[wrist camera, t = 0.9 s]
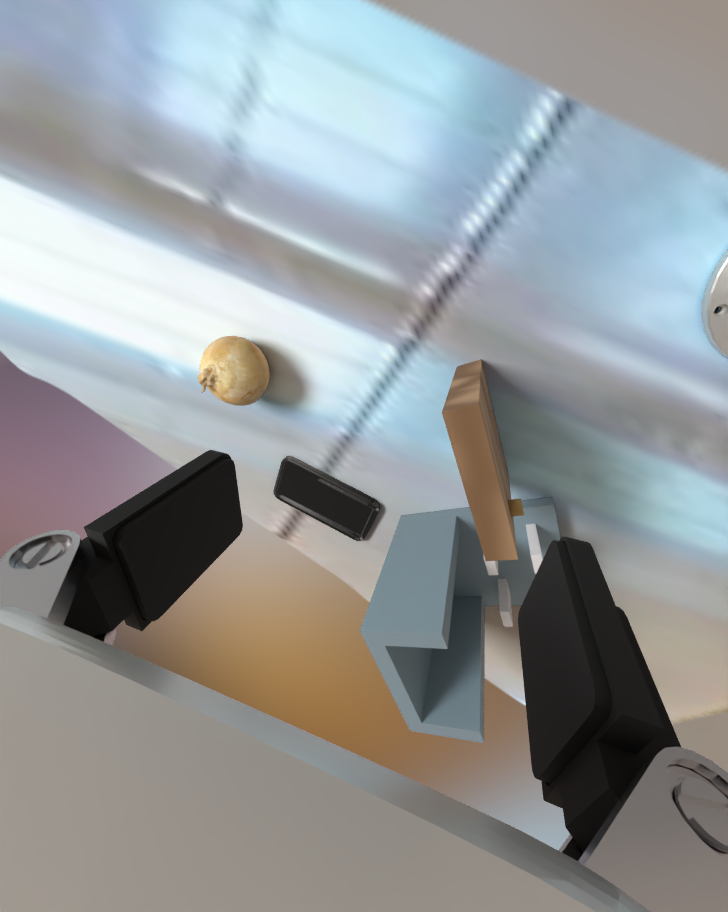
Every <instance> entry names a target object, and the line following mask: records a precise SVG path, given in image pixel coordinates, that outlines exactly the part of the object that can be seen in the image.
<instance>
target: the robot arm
mask: <svg viewBox="0 0 728 912" xmlns="http://www.w3.org/2000/svg"><path fill="white" fill-rule="evenodd" d="M717 306H718V308H719V309H718V311H717V312H715V313H714V310H715V309H716V308H717ZM702 322H703V327H704V331H705V333H706V335H707V337H708V339H709V341H710V343H711V344H712V345H713V346H714V347H715V348H716V349H717V350H718V352H719V353H720V354H722V355H723V356H725V357H727V358H728V249H727V251H726V252H725V254H724V255H723V256H722V258H721V259H720V261H719V262H718V264H717V265H716V267H715V269H714V271H713V273H712V275H711V277H710V279H709V281H708V283H707V286H706V290H705V293H704V297H703V301H702ZM242 527H243V523H242V516H241V508H240V501H239V493H238V486H237V479H236V471H235V464H234V462H233V460H231V457H230V456H229V455H228V454H225V453H221V452H217V451H213V450H209V451H207V452H205V453H204V454H202V455H200V456H199V457H197V458H195V459H194V460H192V461H191V462H189V463H187V464H186V465H184V466H182V467H181V468H179V469H178V470H176V471H174V472H173V473H171V474H169V475H168V476H166V477H165V478H163V479H161V480H160V481H158V482H157V483H155V484H153V485H152V486H150V487H148V488H147V489H145V490H144V491H142V492H140V493H139V494H137V495H135V496H134V497H132V498H131V499H129V500H127V501H126V502H124V503H122V504H121V505H119V506H118V507H116V508H114V509H113V510H111V511H110V512H108V513H106V514H105V515H103V516H101V517H100V518H98V519H97V520H95V521H93V522H92V523H90V524H89V525H87V526H85V527H84V529H85V531H86V533H87V536H88V537H86V538H85V539H83V540H82V541H81V539H80V537H79V535H78V534H77V533H75V532H73V531H68V530H57V531H50V532H46V533H42V534H39V535H36V536H33V537H31V538H28V539H27V540H25V541H23V542H21V543H19V544H17V545H16V546H14V547H13V548H12V549H10V550H9V551H8V552H7V553H6V554H5V555H4V556H3V557H2V558H1V560H0V912H728V773H727V772H726V771H724V770H723V769H722V768H720V767H719V766H718V765H716V764H715V763H714V762H712V761H711V760H709V759H707V758H705V757H704V756H702V755H700V754H698V753H696V752H694V751H691V750H688V749H684V748H681V746H680V743H679V741H678V738H677V736H676V734H675V731H674V729H673V726H672V724H671V722H670V719H669V717H668V714H667V712H666V710H665V707H664V705H663V702H662V700H661V698H660V695H659V693H658V690H657V688H656V686H655V683H654V681H653V678H652V676H651V674H650V671H649V669H648V666H647V664H646V662H645V659H644V657H643V654H642V652H641V650H640V647H639V645H638V643H637V640H636V638H635V635H634V633H633V631H632V628H631V626H630V623H629V621H628V619H627V617H626V615H625V613H624V611H623V610H622V609H620V608H619V607H616V606H615V603H614V601H613V598H612V596H611V593H610V591H609V588H608V586H607V583H606V581H605V578H604V576H603V573H602V570H601V568H600V565H599V563H598V560H597V558H596V555H595V553H594V550H593V548H592V546H591V544H590V543H588V542H584V541H580V540H576V539H572V538H568V537H562V538H561V539H560V540H559V541H556V540H553V541H552V542H551V543H550V545H549V547H548V549H547V552H546V554H545V556H544V558H543V560H542V562H541V565H540V567H539V569H538V571H537V573H536V575H535V578H534V580H533V582H532V584H531V586H530V588H529V590H528V593H527V595H526V597H525V599H524V601H523V603H522V606H521V608H520V611H519V616H518V625H519V636H520V647H521V657H522V668H523V679H524V689H525V700H526V710H527V720H528V732H529V742H530V753H531V763H532V771H533V774H534V776H535V778H536V779H539V780H541V781H542V790H543V799H544V801H546V802H549V803H551V804H554V805H556V806H558V807H561V808H563V812H564V819H565V826H566V828H567V830H568V831H569V833H570V835H569V837H568V838H567V839H566V841H565V842H564V843H563V845H562V846H561V848H560V849H559V850H556V849H554V848H552V847H550V846H548V845H546V844H545V843H543V842H541V841H539V840H537V839H535V838H533V837H531V836H529V835H528V834H526V833H524V832H522V831H520V830H518V829H515V828H514V827H512V826H510V825H508V824H505V823H503V822H501V821H499V820H497V819H495V818H493V817H490V816H489V815H486V814H484V813H482V812H480V811H478V810H476V809H474V808H472V807H470V806H467V805H465V804H463V803H461V802H458V801H457V800H455V799H453V798H451V797H448V796H446V795H444V794H442V793H440V792H438V791H436V790H434V789H431V788H429V787H427V786H425V785H423V784H421V783H418V782H416V781H414V780H412V779H410V778H407V777H405V776H403V775H400V774H399V773H396V772H394V771H392V770H390V769H387V768H385V767H383V766H381V765H379V764H376V763H374V762H372V761H370V760H368V759H365V758H363V757H361V756H359V755H357V754H354V753H352V752H350V751H348V750H345V749H343V748H341V747H339V746H337V745H334V744H332V743H330V742H328V741H326V740H323V739H321V738H319V737H317V736H314V735H312V734H310V733H308V732H305V731H303V730H301V729H299V728H297V727H294V726H292V725H290V724H288V723H285V722H283V721H281V720H279V719H277V718H274V717H272V716H270V715H268V714H265V713H263V712H261V711H259V710H256V709H254V708H252V707H250V706H247V705H245V704H243V703H241V702H238V701H236V700H234V699H232V698H229V697H227V696H225V695H223V694H220V693H218V692H216V691H214V690H211V689H209V688H207V687H205V686H202V685H200V684H198V683H196V682H193V681H191V680H189V679H187V678H184V677H182V676H180V675H178V674H175V673H173V672H171V671H169V670H166V669H164V668H162V667H160V666H157V665H155V664H153V663H150V662H148V661H146V660H143V659H141V658H139V657H137V656H134V655H132V654H130V653H128V652H125V651H123V650H121V649H118V648H116V647H114V646H113V643H114V639H115V635H116V630H117V626H118V625H119V624H120V623H121V622H122V621H123V620H125V623H126V625H128V626H131V627H133V628H136V629H138V630H140V631H143V630H144V629H145V628H146V626H148V625H149V624H150V623H151V621H155V620H157V619H159V618H160V617H161V616H162V615H163V614H164V613H165V612H166V611H167V610H168V609H169V608H170V606H171V605H173V604H174V602H175V601H176V600H177V599H178V598H179V597H180V596H181V595H182V594H183V593H184V592H185V591H186V590H187V589H188V588H189V587H190V586H191V585H192V584H193V583H194V582H195V581H196V580H197V578H199V577H200V575H201V574H202V573H203V572H204V571H205V570H206V569H207V568H208V567H209V566H210V565H211V564H212V563H213V562H214V561H215V560H216V559H217V558H218V557H219V556H220V555H221V554H222V553H223V552H224V551H225V550H226V549H227V548H228V546H229V545H230V544H231V543H232V542H233V541H234V540H235V539H236V538H237V537H238V536H239V535H240V533H241V531H242Z"/></svg>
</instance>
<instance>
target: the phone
mask: <svg viewBox="0 0 728 912" xmlns="http://www.w3.org/2000/svg"><path fill="white" fill-rule="evenodd" d="M274 495H275V497H276V498H277V499H279V500H281V501H283V502H285V503H286V504H288V505H290V506H292V507H294V508H296V509H298V510H300V511H301V512H303V513H305V514H307V515H309V516H311V517H313V518H315V519H316V520H318V521H320V522H322V523H324V524H326V525H328V526H329V527H331V528H333V529H335V530H337V531H339V532H341V533H343V534H344V535H346V536H348V537H350V538H352V539H354V540H356V541H362V540H364V538H365V536H366V535H367V533H368V531H369V529H370V527H371V525H372V523H373V522H374V520H375V518H376V516H377V514H378V512H379V510H380V504H379V502H378V501H377V500H375V499H373V498H371V497H370V496H368V495H366V494H364V493H362V492H360V491H358V490H356V489H354V488H352V487H350V486H348V485H346V484H345V483H343V482H341V481H339V480H337V479H335V478H333V477H331V476H329V475H327V474H325V473H323V472H321V471H320V470H318V469H316V468H314V467H312V466H310V465H308V464H306V463H304V462H302V461H300V460H298V459H297V458H295V457H292V456H287V457H286V458H284V459H283V460H282V462H281V466H280V469H279V473H278V477H277V480H276V484H275V487H274Z"/></svg>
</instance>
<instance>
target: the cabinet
mask: <svg viewBox="0 0 728 912" xmlns="http://www.w3.org/2000/svg"><path fill="white" fill-rule="evenodd" d="M522 506H523V511H524V515H522V516H513V519H514V528H515V537H516V545H517V554H518V560H500V561H486V560H485V557H484V553H483V550H482V547H481V543H480V540H479V537H478V533H477V530H476V526H475V523H474V520H473V516H472V513H471V509H470V507H467V508H459V509H451V510H443V511H434V512H426V513H418V514H410V515H402V516H401V517H400V520H399V523H398V526H397V529H396V531H395V534H394V537H393V540H392V543H391V545H390V548H389V551H388V554H387V557H386V559H385V562H384V565H383V568H382V571H381V573H380V576H379V579H378V582H377V584H376V587H375V590H374V593H373V596H372V598H371V601H370V604H369V607H368V610H367V612H366V615H365V618H364V621H363V624H362V627H361V629H360V632H361V634H362V636H363V638H364V640H365V642H366V644H367V646H368V648H369V650H370V652H371V654H372V656H373V658H374V660H375V662H376V664H377V666H378V668H379V670H380V672H381V674H382V676H383V678H384V680H385V682H386V684H387V686H388V688H389V690H390V692H391V694H392V696H393V698H394V700H395V702H396V704H397V706H398V708H399V710H400V712H401V714H402V716H403V717H404V720H405V722H406V724H407V726H408V728H409V729H410V731H415V732H421V733H427V734H433V735H439V736H445V737H451V738H457V739H463V740H469V741H475V742H481V743H484V622H485V606H499V612H500V615H501V619H502V622H503V625H504V627H513V620H512V608H511V606H522V603H523V601H524V599H525V597H526V595H527V593H528V590H529V588H530V586H531V584H532V582H533V580H534V578H535V575H536V573H537V571H538V569H539V567H540V565H541V562H542V560H543V558H544V556H545V554H546V552H547V549H548V547H549V545H550V543H551V542H552V541H553V540H556V541H559V540H560V539H561V538H560V533H559V528H558V523H557V517H556V512H555V507H554V503H553V499H552V497H548V498H540V499H532V500H523V501H522Z"/></svg>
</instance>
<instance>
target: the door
mask: <svg viewBox="0 0 728 912" xmlns="http://www.w3.org/2000/svg"><path fill="white" fill-rule="evenodd" d="M442 414H443V418H444V421H445V424H446V428H447V431H448V435H449V438H450V441H451V445H452V448H453V452H454V455H455V458H456V462H457V465H458V469H459V472H460V475H461V479H462V482H463V486H464V489H465V492H466V496H467V499H468V503H469V506H470V509H471V513H472V516H473V520H474V523H475V526H476V530H477V533H478V537H479V540H480V543H481V547H482V550H483V553H484V557H485V560H486V561H500V560H518V554H517V545H516V537H515V528H514V519H513V516H522V515H524V511H523V506H522V501H521V499H513V500H511V493H510V485H509V476H508V470H507V465H506V461H505V457H504V453H503V449H502V444H501V440H500V436H499V432H498V428H497V423H496V419H495V415H494V411H493V406H492V402H491V398H490V394H489V390H488V385H487V381H486V377H485V373H484V369H483V364H482V360H477V361H474V362H471V363H467V364H464V365H461V366H458V367H457V368H456V371H455V374H454V377H453V380H452V384H451V387H450V390H449V393H448V396H447V399H446V402H445V405H444V408H443V411H442Z"/></svg>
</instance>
